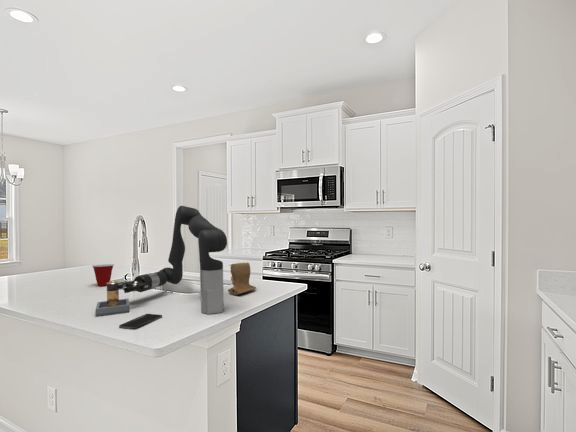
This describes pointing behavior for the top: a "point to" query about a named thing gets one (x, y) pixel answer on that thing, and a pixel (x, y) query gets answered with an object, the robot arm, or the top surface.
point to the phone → (140, 321)
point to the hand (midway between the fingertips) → (117, 289)
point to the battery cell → (112, 294)
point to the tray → (112, 308)
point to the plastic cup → (103, 274)
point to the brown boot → (240, 278)
